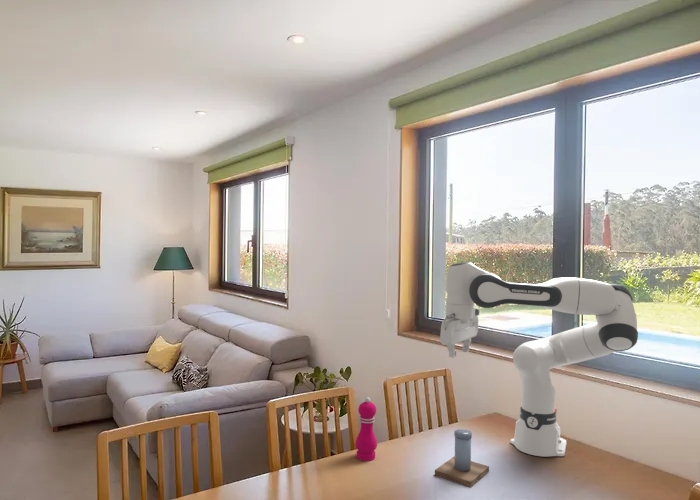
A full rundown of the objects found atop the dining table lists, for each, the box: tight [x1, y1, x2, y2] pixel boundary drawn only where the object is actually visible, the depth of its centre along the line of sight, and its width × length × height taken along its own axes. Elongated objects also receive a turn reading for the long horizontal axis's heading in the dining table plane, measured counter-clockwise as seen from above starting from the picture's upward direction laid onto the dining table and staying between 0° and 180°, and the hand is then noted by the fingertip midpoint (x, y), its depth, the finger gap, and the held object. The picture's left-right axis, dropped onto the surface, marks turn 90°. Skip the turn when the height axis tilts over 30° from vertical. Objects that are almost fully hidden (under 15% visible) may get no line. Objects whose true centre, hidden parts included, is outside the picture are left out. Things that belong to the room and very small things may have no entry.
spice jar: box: [453, 428, 473, 471], centre depth 162 cm, size 5×5×11 cm
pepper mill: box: [355, 396, 378, 462], centre depth 172 cm, size 7×7×20 cm
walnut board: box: [434, 455, 490, 488], centre depth 162 cm, size 14×12×2 cm
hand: (459, 354), depth 167 cm, fingers open, 8 cm apart
